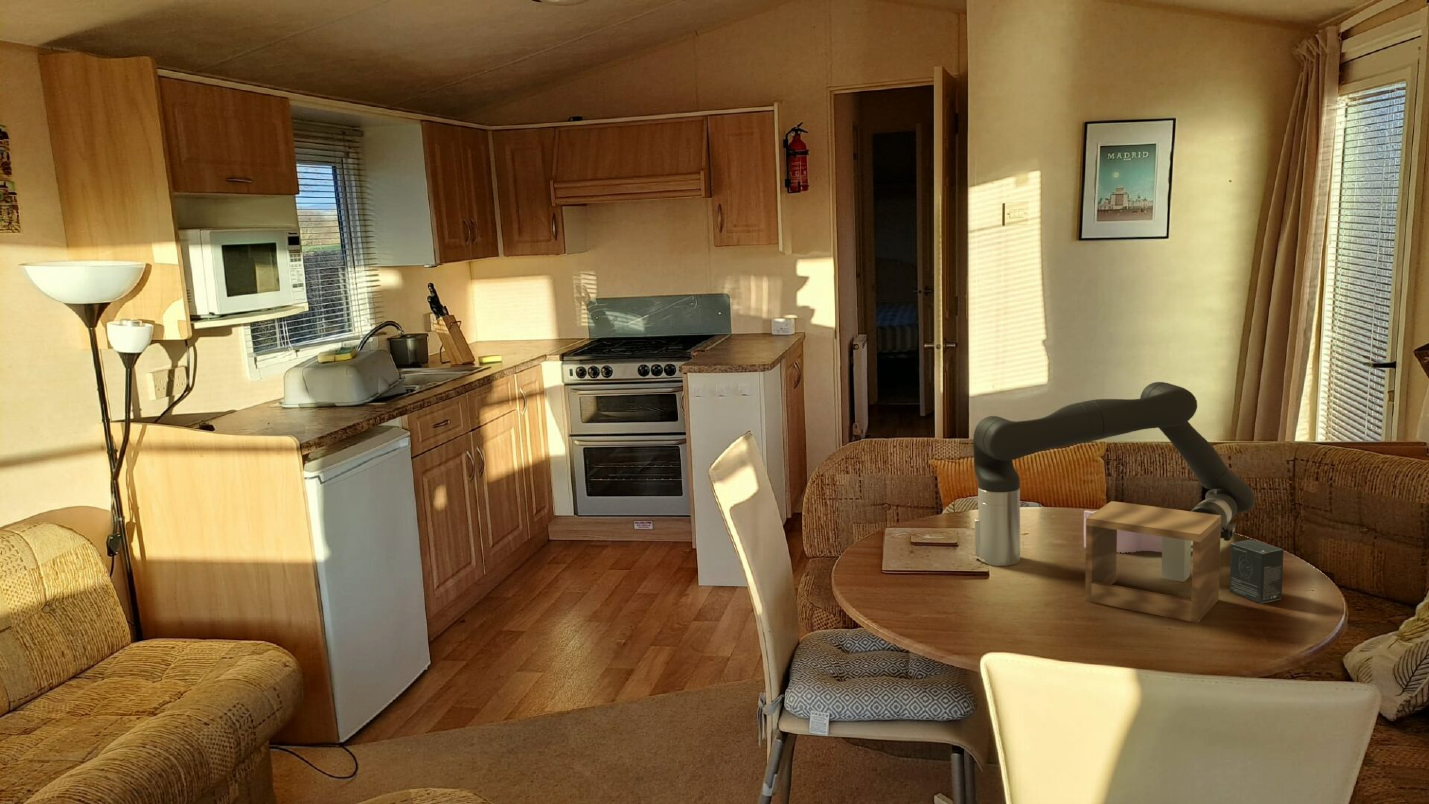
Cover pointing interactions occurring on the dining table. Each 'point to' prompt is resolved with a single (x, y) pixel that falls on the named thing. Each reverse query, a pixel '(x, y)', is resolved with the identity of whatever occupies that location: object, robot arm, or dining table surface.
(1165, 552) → the block
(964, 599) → the dining table surface
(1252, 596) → the box
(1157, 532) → the shelf
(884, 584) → the dining table surface
